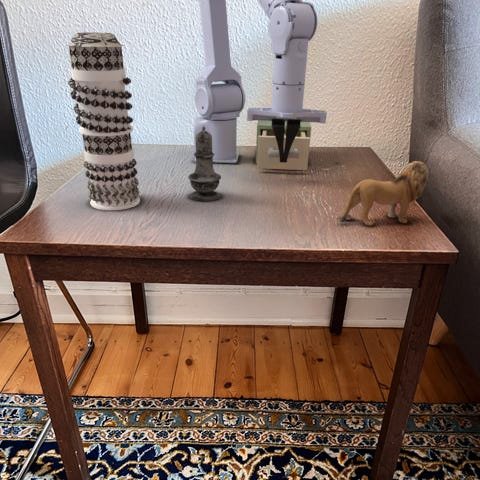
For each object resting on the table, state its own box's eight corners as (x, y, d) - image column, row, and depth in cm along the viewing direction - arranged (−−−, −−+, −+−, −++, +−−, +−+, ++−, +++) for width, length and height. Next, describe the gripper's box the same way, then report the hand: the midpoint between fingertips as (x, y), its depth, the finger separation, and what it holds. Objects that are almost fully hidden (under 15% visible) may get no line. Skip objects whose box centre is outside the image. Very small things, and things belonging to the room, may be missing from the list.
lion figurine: (406, 210, 80) (418, 156, 75) (426, 221, 76) (440, 164, 71) (331, 219, 76) (338, 163, 71) (348, 231, 72) (357, 172, 67)
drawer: (308, 176, 93) (311, 143, 90) (256, 174, 94) (257, 141, 90) (304, 155, 108) (306, 126, 104) (259, 153, 108) (260, 125, 105)
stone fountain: (225, 193, 86) (226, 124, 79) (214, 203, 81) (213, 130, 75) (196, 189, 88) (194, 121, 81) (183, 199, 83) (180, 127, 76)
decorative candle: (112, 190, 86) (91, 31, 72) (153, 199, 83) (139, 33, 69) (76, 204, 79) (45, 32, 66) (119, 214, 76) (96, 34, 62)
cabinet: (307, 165, 104) (311, 126, 99) (255, 163, 104) (257, 125, 100) (304, 151, 115) (307, 115, 111) (257, 149, 116) (259, 114, 111)
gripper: (246, 84, 80) (244, 165, 88) (331, 87, 80) (322, 168, 87) (249, 80, 86) (247, 155, 94) (327, 82, 86) (319, 158, 93)
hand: (283, 161), depth 91 cm, fingers closed, pressing on drawer
